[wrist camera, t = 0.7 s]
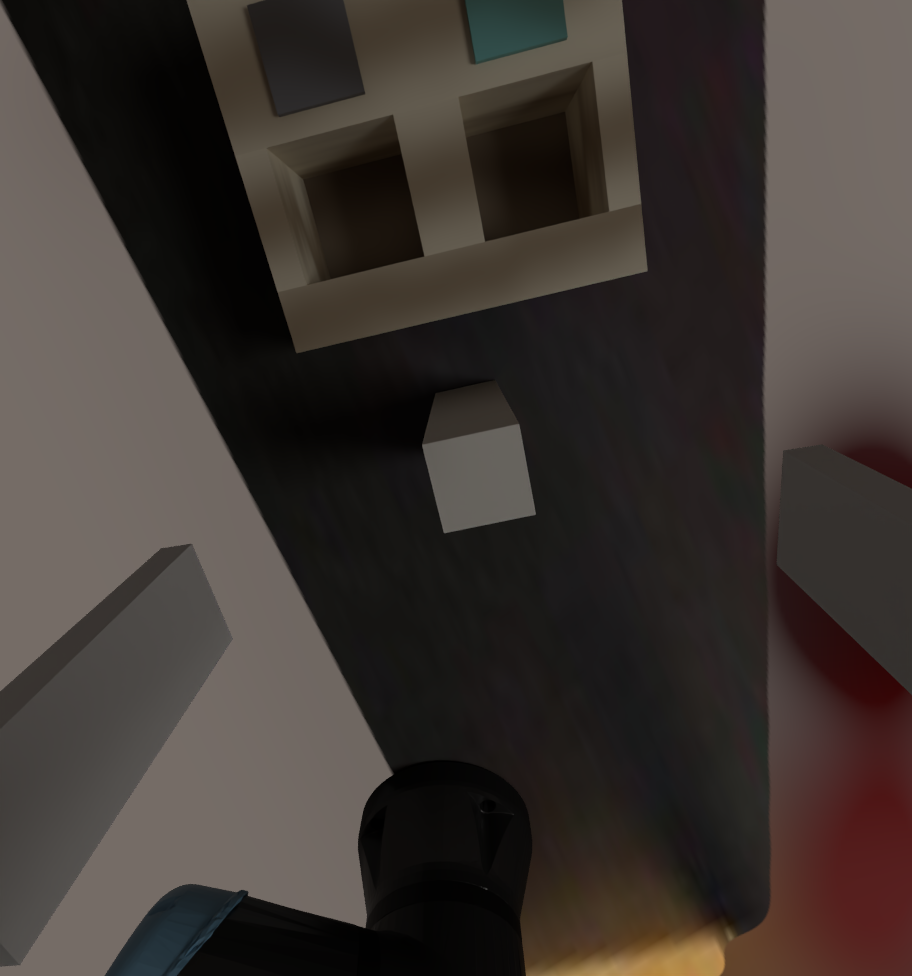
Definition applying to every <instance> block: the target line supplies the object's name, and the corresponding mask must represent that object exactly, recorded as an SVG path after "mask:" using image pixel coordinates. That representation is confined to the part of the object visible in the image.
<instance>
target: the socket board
mask: <svg viewBox="0 0 912 976" xmlns="http://www.w3.org/2000/svg"><path fill="white" fill-rule="evenodd" d="M187 3H188V6H189V10H190V13H191V16H192V19H193V22H194V26H195V29H196V32H197V35H198V38H199V42H200V45H201V48H202V51H203V54H204V58H205V61H206V64H207V67H208V70H209V74H210V77H211V80H212V83H213V86H214V90H215V93H216V96H217V99H218V102H219V106H220V109H221V112H222V115H223V119H224V122H225V125H226V128H227V131H228V135H229V138H230V141H231V144H232V147H233V151H234V154H235V157H236V160H237V163H238V167H239V170H240V173H241V176H242V179H243V183H244V186H245V189H246V192H247V195H248V199H249V202H250V205H251V208H252V211H253V215H254V218H255V221H256V224H257V228H258V231H259V234H260V237H261V240H262V244H263V247H264V250H265V253H266V256H267V260H268V263H269V266H270V269H271V272H272V276H273V279H274V282H275V285H276V288H277V292H278V295H279V298H280V301H281V304H282V308H283V311H284V314H285V317H286V321H287V324H288V327H289V330H290V333H291V337H292V340H293V343H294V346H295V349H296V353H299V352H304V351H308V350H312V349H316V348H321V347H325V346H329V345H334V344H338V343H342V342H346V341H351V340H355V339H359V338H363V337H368V336H372V335H376V334H381V333H385V332H389V331H393V330H398V329H402V328H406V327H410V326H415V325H419V324H423V323H428V322H432V321H436V320H440V319H445V318H449V317H453V316H457V315H462V314H466V313H470V312H475V311H479V310H483V309H487V308H492V307H496V306H500V305H505V304H509V303H513V302H517V301H522V300H526V299H530V298H534V297H539V296H543V295H547V294H552V293H556V292H560V291H564V290H569V289H573V288H577V287H581V286H586V285H590V284H594V283H599V282H603V281H607V280H611V279H616V278H620V277H624V276H629V275H633V274H637V273H641V272H646V271H647V261H646V251H645V240H644V230H643V219H642V208H641V198H640V187H639V177H638V166H637V156H636V145H635V134H634V124H633V113H632V103H631V92H630V82H629V71H628V60H627V50H626V39H625V29H624V18H623V8H622V0H187Z"/></svg>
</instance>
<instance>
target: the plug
mask: <svg viewBox="0 0 912 976" xmlns="http://www.w3.org/2000/svg"><path fill="white" fill-rule="evenodd" d="M422 447H423V451H424V455H425V459H426V463H427V467H428V471H429V475H430V479H431V483H432V487H433V491H434V495H435V499H436V503H437V507H438V511H439V515H440V519H441V523H442V527H443V531H444V533H447V532H452V531H457V530H462V529H467V528H472V527H477V526H482V525H487V524H492V523H497V522H501V521H506V520H511V519H516V518H521V517H526V516H531V515H536V513H535V507H534V502H533V496H532V491H531V486H530V480H529V475H528V469H527V464H526V459H525V453H524V448H523V442H522V437H521V432H520V426H519V423H518V421H517V419H516V417H515V416H514V414H513V412H512V410H511V408H510V406H509V405H508V403H507V401H506V399H505V397H504V396H503V394H502V392H501V390H500V388H499V387H498V385H497V383H496V381H495V380H492V381H488V382H483V383H479V384H474V385H470V386H465V387H461V388H456V389H452V390H448V391H443V392H439V393H435V397H434V401H433V405H432V409H431V412H430V416H429V420H428V424H427V428H426V432H425V435H424V439H423V443H422Z"/></svg>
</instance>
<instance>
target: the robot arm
mask: <svg viewBox="0 0 912 976" xmlns="http://www.w3.org/2000/svg"><path fill="white" fill-rule="evenodd" d="M777 565H778V566H779V567H780V568H781V569H782V570H783V571H784V572H785V573H786V574H787V575H788V576H789V577H790V578H791V579H792V580H793V581H794V582H795V583H796V584H797V585H799V586H800V587H801V588H802V589H803V590H804V591H805V592H806V593H807V594H808V595H809V596H810V597H811V598H812V599H813V600H814V601H815V602H816V603H817V604H818V605H819V606H820V607H821V608H822V609H823V610H825V612H827V613H828V614H829V615H830V616H831V617H832V618H833V619H834V620H835V621H836V622H837V623H838V624H839V625H840V626H841V627H842V628H843V629H844V630H845V631H846V632H847V633H848V634H849V635H850V636H852V638H854V639H855V640H856V641H857V642H858V643H859V644H860V645H861V646H862V647H863V648H864V649H865V650H866V651H867V652H868V653H869V654H870V655H871V656H872V657H873V658H874V659H875V660H876V661H877V662H878V663H879V664H881V665H882V666H883V667H884V668H885V669H886V670H887V671H888V672H889V673H890V674H891V675H892V676H893V677H894V678H895V679H896V680H897V681H898V682H899V683H900V684H901V685H902V686H903V687H904V688H905V689H906V690H908V691H909V692H910V693H911V694H912V489H911V488H909V487H907V486H905V485H902V484H901V483H899V482H896V481H895V480H893V479H891V478H888V477H887V476H885V475H883V474H880V473H879V472H876V471H875V470H872V469H870V468H868V467H866V466H864V465H862V464H860V463H858V462H856V461H854V460H852V459H850V458H848V457H846V456H844V455H842V454H840V453H838V452H836V451H834V450H832V449H830V448H828V447H826V446H824V445H817V446H811V447H804V448H797V449H791V450H785V451H783V464H782V481H781V498H780V516H779V533H778V550H777ZM231 641H232V636H231V634H230V631H229V629H228V627H227V624H226V622H225V620H224V618H223V615H222V613H221V611H220V608H219V606H218V603H217V601H216V599H215V596H214V594H213V592H212V589H211V587H210V585H209V583H208V580H207V578H206V576H205V573H204V571H203V569H202V566H201V564H200V562H199V559H198V557H197V555H196V552H195V550H194V548H193V545H192V544H187V545H181V546H174V547H169V548H162V549H160V550H159V551H158V552H157V553H156V554H154V555H153V556H152V557H151V558H150V559H149V560H148V561H147V562H145V563H144V564H143V565H142V566H141V567H140V568H139V569H138V570H137V571H135V572H134V573H133V574H132V575H131V576H130V577H129V578H127V579H126V580H125V581H124V582H123V583H122V584H121V585H120V586H118V587H117V588H116V589H115V590H114V591H113V592H112V593H111V594H109V596H107V597H106V598H105V599H104V600H103V601H102V602H101V603H99V604H98V605H97V606H96V607H95V608H94V609H93V610H91V611H90V612H89V613H88V614H87V615H86V616H85V617H84V618H83V619H81V620H80V621H79V622H78V623H77V624H76V625H75V626H73V627H72V628H71V629H70V630H69V631H68V632H67V633H66V634H65V635H63V636H62V637H61V638H60V639H59V640H58V641H57V642H55V644H53V645H52V646H51V647H50V648H49V649H48V650H47V651H45V652H44V653H43V654H42V655H41V656H40V657H39V658H38V659H36V660H35V661H34V662H33V663H32V664H31V665H30V666H28V667H27V668H26V669H25V670H24V671H23V672H22V673H21V674H19V675H18V676H17V677H16V678H15V679H14V680H13V681H12V682H10V683H9V684H8V685H7V686H6V687H5V688H4V689H3V690H2V691H0V966H13V965H20V964H21V962H22V961H23V959H24V958H25V956H26V955H27V953H28V951H29V950H30V948H31V947H32V945H33V944H34V942H35V941H36V939H37V938H38V936H39V934H40V933H41V932H42V930H43V928H44V927H45V925H46V924H47V922H48V921H49V919H50V918H51V916H52V915H53V913H54V912H55V910H56V909H57V907H58V906H59V904H60V903H61V901H62V899H63V898H64V896H65V895H66V893H67V892H68V890H69V889H70V887H71V886H72V884H73V883H74V881H75V880H76V878H77V877H78V875H79V873H80V872H81V870H82V868H83V867H84V866H85V864H86V863H87V861H88V860H89V858H90V857H91V855H92V854H93V852H94V851H95V849H96V847H97V846H98V844H99V843H100V841H101V840H102V838H103V837H104V835H105V834H106V832H107V831H108V829H109V828H110V826H111V825H112V823H113V821H114V820H115V818H116V817H117V815H118V814H119V812H120V811H121V809H122V808H123V806H124V805H125V803H126V802H127V800H128V798H129V797H130V795H131V794H132V792H133V791H134V789H135V788H136V786H137V785H138V783H139V782H140V780H141V779H142V777H143V775H144V774H145V772H146V771H147V769H148V768H149V766H150V765H151V763H152V762H153V760H154V759H155V757H156V756H157V754H158V753H159V751H160V749H161V748H162V746H163V745H164V743H165V742H166V740H167V739H168V737H169V736H170V734H171V733H172V731H173V730H174V728H175V727H176V725H177V723H178V722H179V720H180V719H181V717H182V716H183V714H184V713H185V711H186V710H187V708H188V706H189V705H190V704H191V702H192V700H193V699H194V697H195V696H196V694H197V693H198V691H199V690H200V688H201V687H202V685H203V684H204V682H205V680H206V679H207V677H208V676H209V674H210V673H211V671H212V669H213V668H214V667H215V665H216V664H217V662H218V661H219V659H220V658H221V656H222V655H223V653H224V651H225V650H226V648H227V647H228V645H229V644H230V642H231ZM358 852H359V860H360V867H361V875H362V881H363V889H364V897H365V904H366V911H367V922H366V928H363V927H359V926H356V925H354V924H350V923H346V922H342V921H338V920H334V919H331V918H327V917H322V916H319V915H315V914H311V913H307V912H303V911H299V910H295V909H292V908H288V907H285V906H281V905H277V904H274V903H271V902H267V901H264V900H260V899H256V898H253V897H249V896H247V895H248V891H245V890H241V891H239V892H232V891H226V890H222V889H217V888H211V887H207V886H202V885H196V884H188V885H182V886H179V887H177V888H175V889H173V890H171V891H170V892H168V893H167V894H166V895H164V896H163V897H162V898H161V899H160V900H159V901H158V902H157V903H156V904H155V905H154V906H153V907H152V908H151V910H150V911H149V912H148V914H147V915H146V916H145V917H144V919H143V920H142V921H141V923H140V924H139V925H138V927H137V928H136V929H135V931H134V932H133V934H132V935H131V937H130V938H129V940H128V941H127V943H126V944H125V946H124V947H123V948H122V950H121V951H120V953H119V954H118V956H117V957H116V959H115V961H114V962H113V964H112V966H111V967H110V968H109V970H108V971H107V973H106V975H105V976H526V972H525V963H524V953H523V946H522V936H521V926H520V916H521V911H522V905H523V900H524V894H525V889H526V883H527V878H528V872H529V867H530V861H531V856H532V835H531V828H530V821H529V814H528V811H527V808H526V805H525V803H524V801H523V799H522V798H521V796H520V795H519V794H518V792H517V791H516V790H515V789H514V788H513V787H512V786H511V785H510V784H509V783H508V782H506V781H505V780H504V779H502V778H501V777H499V776H498V775H496V774H494V773H492V772H490V771H488V770H485V769H483V768H480V767H477V766H473V765H469V764H464V763H456V762H433V763H426V764H421V765H417V766H413V767H410V768H407V769H405V770H402V771H400V772H398V773H396V774H394V775H393V776H391V777H389V778H388V779H386V780H385V781H384V782H383V783H381V784H380V785H379V786H378V787H377V788H376V789H375V790H374V792H373V793H372V794H371V796H370V797H369V799H368V801H367V803H366V805H365V808H364V811H363V815H362V821H361V826H360V831H359V839H358Z"/></svg>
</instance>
